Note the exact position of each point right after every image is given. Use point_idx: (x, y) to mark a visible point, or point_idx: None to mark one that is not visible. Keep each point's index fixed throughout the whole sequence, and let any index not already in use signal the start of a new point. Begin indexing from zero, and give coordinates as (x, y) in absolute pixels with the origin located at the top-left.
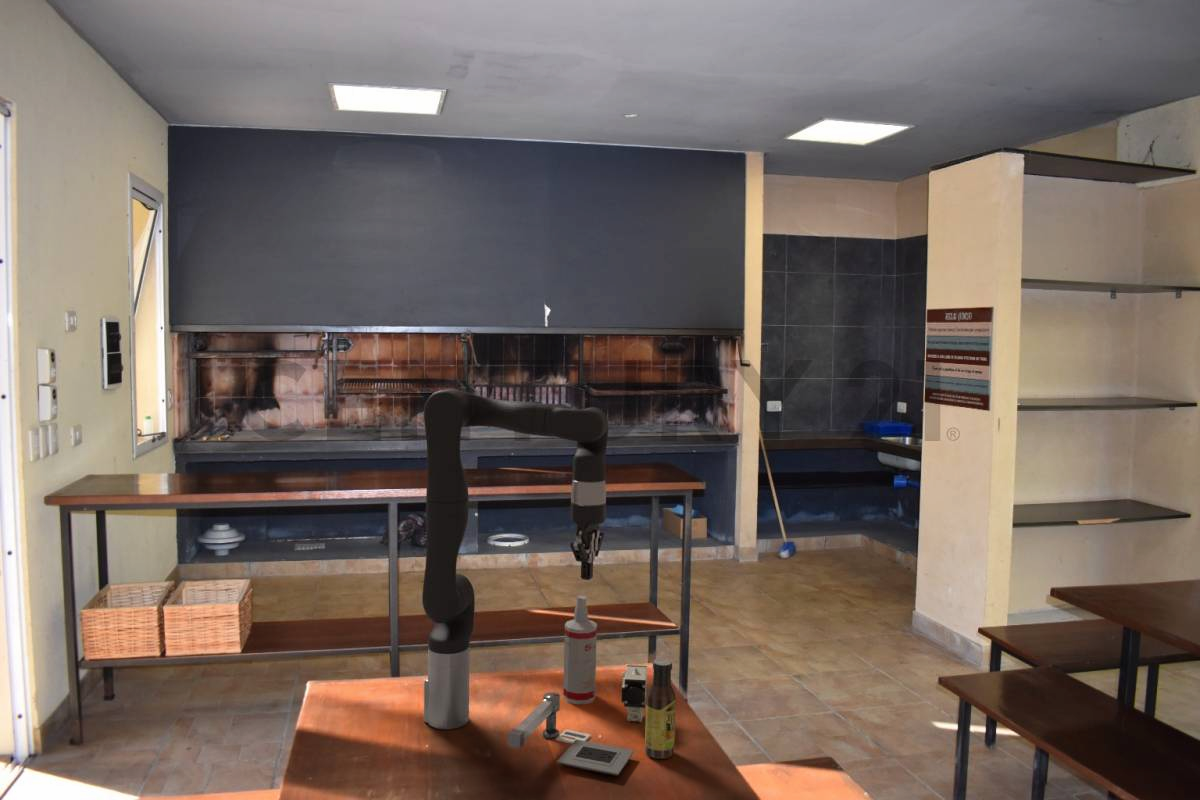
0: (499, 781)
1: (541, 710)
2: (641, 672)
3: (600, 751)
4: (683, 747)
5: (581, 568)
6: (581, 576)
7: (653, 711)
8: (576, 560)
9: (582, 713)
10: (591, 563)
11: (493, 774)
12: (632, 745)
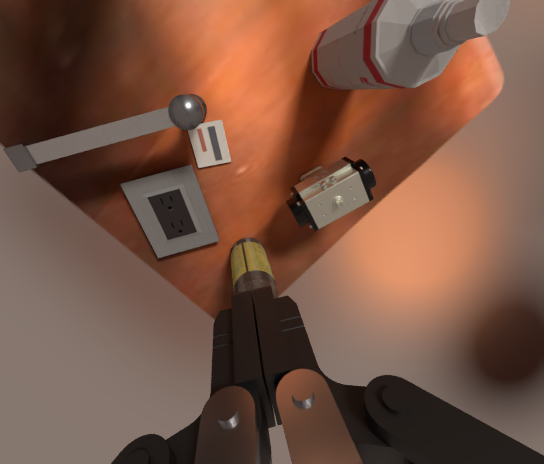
0: (28, 137)
1: (126, 135)
2: (344, 207)
3: (183, 215)
4: (277, 261)
5: (213, 360)
6: (219, 313)
7: (233, 287)
8: (121, 456)
9: (288, 102)
10: (270, 423)
11: (32, 115)
12: (245, 217)
